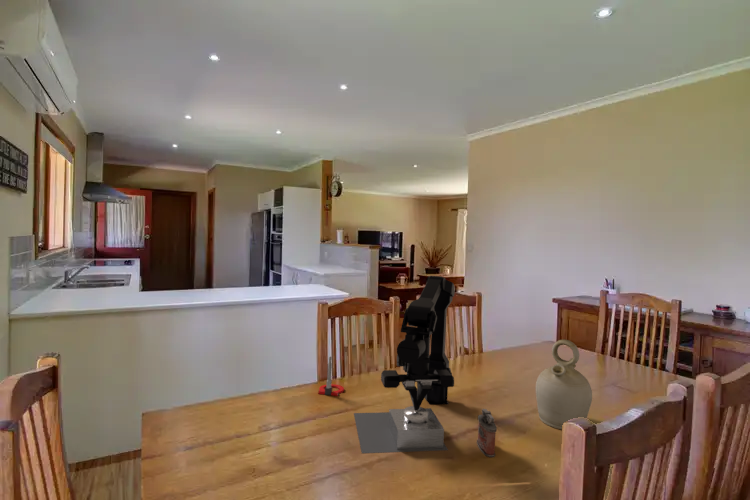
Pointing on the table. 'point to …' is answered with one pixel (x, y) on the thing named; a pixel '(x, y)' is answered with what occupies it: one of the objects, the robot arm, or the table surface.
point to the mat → (379, 434)
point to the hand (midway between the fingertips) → (415, 409)
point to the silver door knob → (415, 415)
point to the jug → (562, 390)
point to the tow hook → (328, 387)
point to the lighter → (486, 433)
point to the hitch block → (415, 431)
